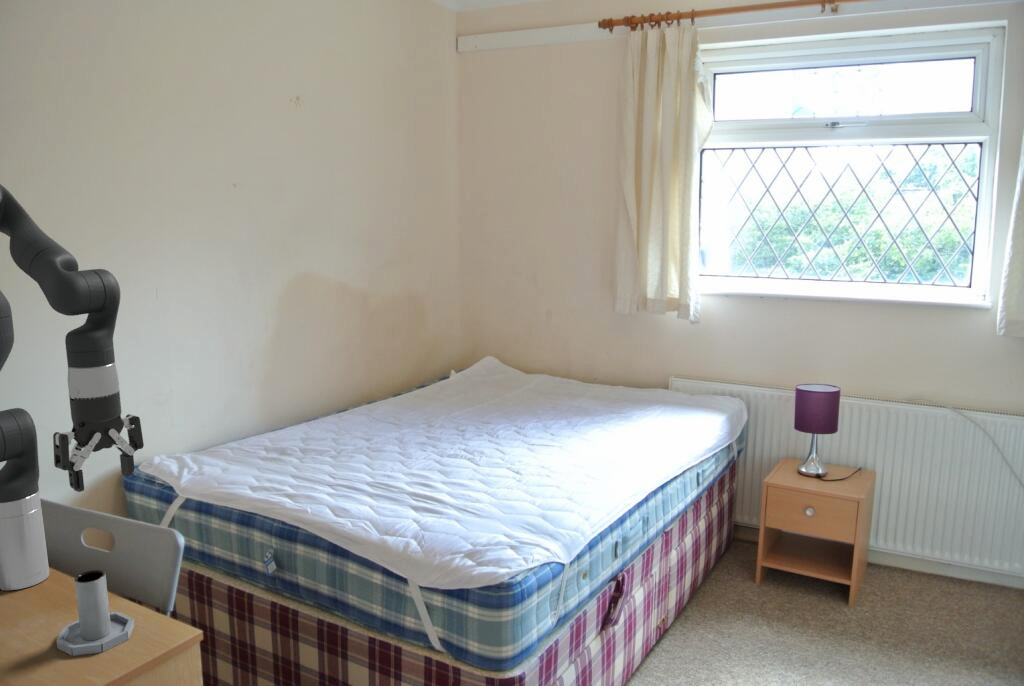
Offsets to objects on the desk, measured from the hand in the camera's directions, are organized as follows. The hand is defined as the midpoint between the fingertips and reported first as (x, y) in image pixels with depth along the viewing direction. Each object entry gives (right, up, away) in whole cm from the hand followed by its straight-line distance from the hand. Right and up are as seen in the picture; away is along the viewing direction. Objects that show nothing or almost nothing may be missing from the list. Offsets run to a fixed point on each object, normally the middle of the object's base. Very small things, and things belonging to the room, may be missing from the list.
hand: (103, 483), depth 141 cm
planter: (0, -25, -3) cm, 25 cm away
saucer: (0, -25, -3) cm, 25 cm away
